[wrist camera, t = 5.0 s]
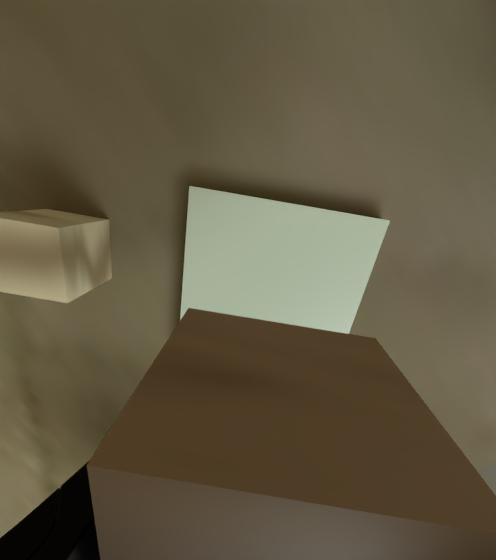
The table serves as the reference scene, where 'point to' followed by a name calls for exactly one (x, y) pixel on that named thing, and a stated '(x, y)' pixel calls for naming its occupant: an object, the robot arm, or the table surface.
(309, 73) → the table surface
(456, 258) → the table surface
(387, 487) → the walnut block
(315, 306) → the plate
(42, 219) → the maple block
